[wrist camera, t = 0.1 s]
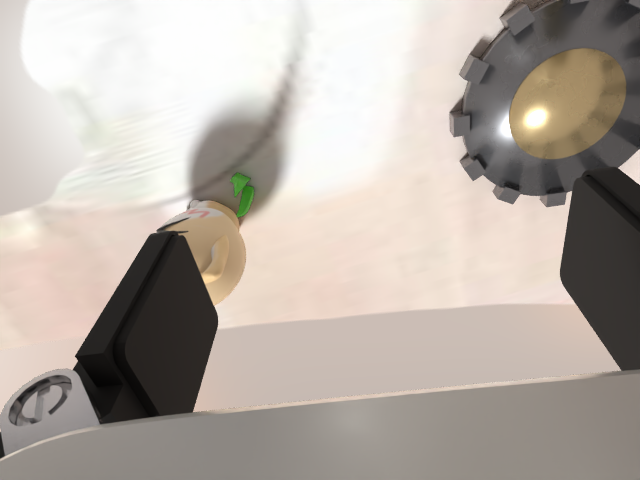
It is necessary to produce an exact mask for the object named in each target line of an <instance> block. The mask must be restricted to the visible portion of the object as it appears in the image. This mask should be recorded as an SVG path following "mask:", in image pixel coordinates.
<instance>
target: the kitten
mask: <svg viewBox="0 0 640 480" xmlns="http://www.w3.org/2000/svg"><path fill="white" fill-rule="evenodd" d="M250 179H251V178H248V177H246V176H243V175H241V174H239V173H238V172H237V173H236V174H235V175H234V176H233V177H232V178H231V180H230V182H232V183H233V184H234V195H235V197H236V196H237V195H238V193H239V192H240V191H241V190H242V189H243V192H242V197H241V201H240V206H239V210H238V213H237V215H236V214H235V213H234V212H233V211H232V210H231V209H229V208H228V207H226V206H224V205H222V204H220V203H218V202H215V201H211V200H206V201H201V202H200V201H199V200H193V201H192V202H191V204H190V209H188V210H186V211H185V212H183V213H181V214H179V215H177V216H175V217H173V218H171V219H170V220H168V221H167V222H166V223H165V224H164V225H163V226H162V227H160V228H159V229H157V233H160V232H167V231H176V232H177V234H178V235H183V236H184V237H185V238H186V240H187V242H188V244H189V247H190V249H191V252H192V254H193V257H194V259H195V261H196V264H197V266H198V269H199V271H200V273H201V276H202V278H203V281H204V283H205V285H206V288H207V290H208V293H209V295H210V298H211V300H212V302H213V305H214V306H215V305H216V304H218V303H220V302H221V301H223V300H224V299H225V298H226V297H227V296H228V295H229V294H230V293H231V292H232V291H233V290H234V288H235V287H236V285H237V284H238V282H239V280H240V278H241V276H242V274H243V271H244V268H245V263H246V249H245V244H244V241H243V239H242V236H241V234H240V233H239V221H238V218H237V217H241V216H244V215H245V214H246V213H247V212H248V210H249V208H250V205H251V203H252V200H253V197H254V188H253V187H251V186H245V185H246V183H247V182H248V181H249V180H250Z"/></svg>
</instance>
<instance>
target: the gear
mask: <svg viewBox="0 0 640 480" xmlns="http://www.w3.org/2000/svg"><path fill="white" fill-rule="evenodd" d="M500 20H501V22H502V23H503V25H504V27H505V30H503V31H502V32H501V33H500V34H499V36H498V37H497V38H496V39H495V40H494V41H493V42H492V43H491V44H490V46H489V47H488V48H487V49H486V51H485V52H484V53H483V55H482V56H481V58H478V57H475V56H473V55H470V54H469V56H468V58H467V60H466V62H465V64H464V66H463V68H462V70H461V72H460V74H459V75H460V76H461V77H462V78H463V79H465V80H467V81H468V83H467V86H466V89H465V92H464V96H463V101H462V106H461V111H456V112H450V132H451V133H452V135H453V137H458V136H462V137H463V142H464V145H465V147H466V150H467V152H468V154H469V155H468V156H467V157H465V158H464V159H462V160H461V161H460V163H461V165H462V166H463V168H464V169H465V171H466V172H467V173H468V175H469V176H470V178H471V179H472V180H473V181H474V180H476V179H477V178H479V177H480V176H482V175H484V176H485V177H486V178H487V179H489V180H490V181H491V182H493V183H494V184H496V187H495V188H494V190H493V193H494V194H495V196H496V197H497V199H499V200H502V201H505V202H508V203H510V204H514V202H515V201H516V199H517V198H518V197H519V195H520V194H523V195H530V196H540V200H541V201H542V203H543V204H544V205H545V206H546V207H551V206H558V205H565V200H566V193H567V192H569V191H572V190H573V184H574V181H575V180H576V179H577V178H580V177H581V176H582V174H583V172H585V171H586V170H592V169H599V168H606V167H616V168H618V167H619V166H621V165H622V164H623V163H624V162H626V161H627V160H628V159H629V158H630V157H631V156H632V155H633V154H634V153H636V152H637V151H638V150H639V149H640V0H550V1H548V2H545V3H543V4H541V5H539V6H537V7H535V8H534V9H532V10H530V9H529V7H528V5H527V4H524V3H520V2H519V3H518V4H517V5H516V6H514V7H513V8H512V9H511V10H509V11H508V12H507V13H505V14H504V15H503V16H502V17H500Z"/></svg>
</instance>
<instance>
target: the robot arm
mask: <svg viewBox="0 0 640 480" xmlns="http://www.w3.org/2000/svg"><path fill="white" fill-rule="evenodd" d="M560 277H561V281H562V284H563V286H564V287H565V289H566V290H567V292H568V293H569V295H570V296H571V297H572V299H573V300H574V302H575V303H576V305H577V306H578V308H579V309H580V311H581V312H582V313H583V315H584V316H585V318H586V319H587V321H588V322H589V324H590V325H591V327H592V328H593V330H594V331H595V332H596V334H597V335H598V337H599V338H600V340H601V341H602V343H603V344H604V346H605V347H606V348H607V350H608V351H609V353H610V354H611V356H612V357H613V359H614V360H615V362H616V363H617V365H618V366H619V367H620V369H621V370H622V371H612V372H602V373H591V374H580V375H568V376H557V377H546V378H536V379H525V380H514V381H503V382H492V383H481V384H471V385H460V386H450V387H439V388H429V389H420V390H409V391H398V392H389V393H378V394H367V395H357V396H348V397H337V398H327V399H318V400H308V401H299V402H288V403H278V404H268V405H259V406H249V407H239V408H230V409H221V410H210V411H201V412H193V409H194V406H195V403H196V399H197V396H198V393H199V389H200V386H201V382H202V379H203V375H204V372H205V368H206V365H207V362H208V358H209V355H210V351H211V348H212V344H213V341H214V338H215V334H216V331H217V327H218V316H217V312H216V310H215V307H214V305H213V302H212V300H211V298H210V295H209V293H208V290H207V288H206V285H205V283H204V281H203V278H202V276H201V273H200V271H199V269H198V266H197V264H196V261H195V259H194V257H193V254H192V252H191V249H190V247H189V244H188V242H187V240H186V238H185V237H184V236H183V235H178V234H177V232H176V231H167V232H160V233H153V234H151V235H150V236H149V237H148V238H147V240H146V242H145V243H144V245H143V247H142V248H141V250H140V251H139V253H138V255H137V256H136V258H135V260H134V261H133V263H132V264H131V266H130V268H129V269H128V271H127V273H126V274H125V276H124V277H123V279H122V281H121V282H120V284H119V286H118V287H117V289H116V290H115V292H114V294H113V295H112V297H111V299H110V300H109V302H108V303H107V305H106V307H105V308H104V310H103V312H102V313H101V315H100V316H99V318H98V320H97V321H96V323H95V325H94V326H93V328H92V329H91V331H90V333H89V334H88V336H87V338H86V339H85V341H84V342H83V344H82V346H81V347H80V349H79V351H78V352H77V354H76V355H75V357H76V358H77V360H78V362H77V364H76V366H75V367H74V369H73V370H69V369H57V370H53V371H50V372H46V373H44V374H42V375H40V376H38V377H36V378H34V379H32V380H31V381H29V382H28V383H26V384H25V385H23V386H22V387H21V388H20V389H19V390H18V391H17V392H16V393H15V394H14V395H12V397H11V398H10V399H9V401H8V402H7V403H6V404H5V406H4V408H3V410H2V412H1V414H0V429H1V432H0V480H640V185H639V184H638V183H636V182H635V181H634V180H632V179H631V178H630V177H629V176H627V175H626V174H625V173H623V172H622V171H621V170H620V169H618V168H616V167H606V168H599V169H592V170H586V171H585V172H583V174H582V176H581V177H580V178H577V179H576V180H575V181H574V184H573V190H572V197H571V203H570V209H569V216H568V222H567V229H566V235H565V242H564V248H563V254H562V261H561V267H560Z"/></svg>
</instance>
